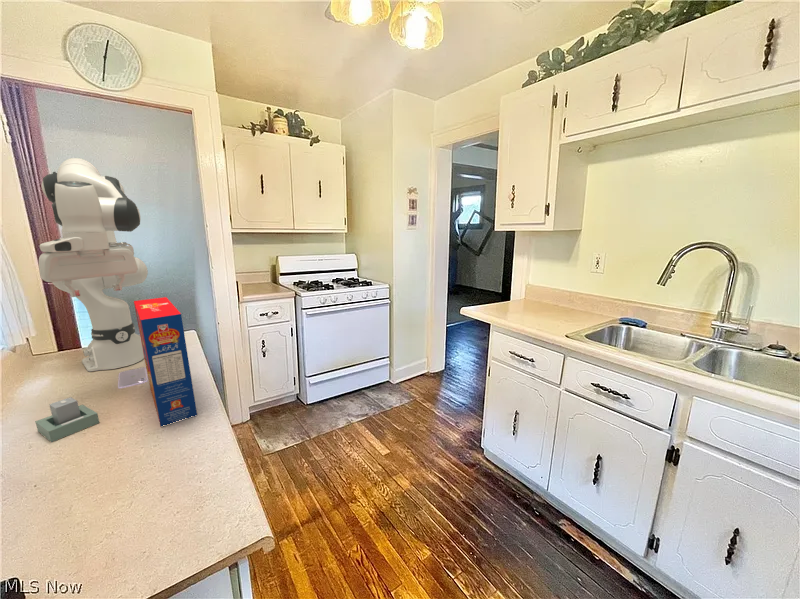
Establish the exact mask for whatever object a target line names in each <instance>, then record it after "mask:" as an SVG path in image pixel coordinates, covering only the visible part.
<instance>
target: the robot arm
mask: <svg viewBox="0 0 800 599" xmlns="http://www.w3.org/2000/svg"><path fill="white" fill-rule="evenodd" d="M41 190H42V192H43V195H44V196H45V197H46V198H47V200H48V201H49V202H51V203H52V204H51V207H52V212H53V216H54V221H55V223H56V224H58V225H59V226H61V227H62V228H61V234H62V237H61V238H56V239H53V240H50V241H45V242H43V243H41V244H39V249H40V251H41V252H43V253H41V254H40V255H39V258H38V270H39V276H40V278H41V280H42V281H44V282H47V283H52V284H53V286H54V287H56V288H57V289H58V290H60V291H63V292H65V293H67V294H70V297H71V298H76V299H78V300H79V301H80V302H81V303H82V305H83V306H84V307H85V309H86V310H87V313H88V316H89V320H90V323H91V327H92V328H91V333H90V334H91V339H92V340H91V341H90V343H89V344H88V345H87V348H86V349H84V350H83V356H84V358H82V359H81V363H82V365H83V366H84V368H85V369H86V371H87V372H95V371H103V370H104V371H105V370H114V369H119V368H125V367H127V366H132V365H134V364H136V363H139V362H142V360H145V358H144V353H143V348H142V342H141V337H140V334H137V333H136V326H135V324H134V322H133V321H132V315H131V311H130V306H129V304H128V302H127V301H125V300H123V299H121V298H118V297H114V296H110V295H107V294H105V293H104V291H103V290H106V289H113V291H114V292H119V291H122V290H123V288H125V287H131V286H136V285H140V284H143V283H144V282H145V281H146V279H147V276H148V267H147V265H146V264H145V262H144V261H143V260H142V259H140V258H139V257H136V256H135V251H134V247H133V245H131V244H130V243H127V242H125V241H122V242H121V241H120V242H117V239H116V235H115V231H116V232H117V231H118V232H130V233H131V232H133V231H134V230H136V229H137V228H138V227H140V225H141V213H140V210H139V208H138V206H137V204H136V203H135V201H133V200H131V199H130V198H129V197H128V196H127V195H126V194H125V189H124V187H123V185H122V183H121V182H120V180H119V179H118V178H116V177H113V176H109V175H105V176H103V175H101V173H100V172H99V171H98V169H97V167H95V165H93V164H92V163H91V162H90V161H88V160H86V159H83V158H80V157H79V158H78V157H71V158H66V159H65V160H64V161H63V162H61V163H60V165H59V167H58V169H57V172H56V171H53V172H52V173H50V174H46V175H44V177H43V178H42V182H41Z"/></svg>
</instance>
